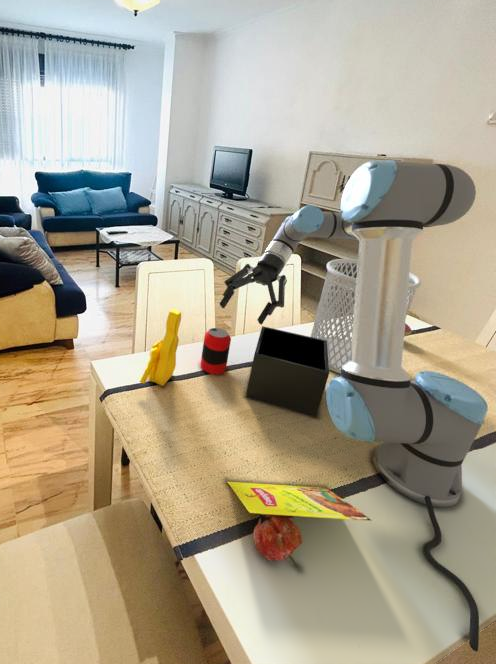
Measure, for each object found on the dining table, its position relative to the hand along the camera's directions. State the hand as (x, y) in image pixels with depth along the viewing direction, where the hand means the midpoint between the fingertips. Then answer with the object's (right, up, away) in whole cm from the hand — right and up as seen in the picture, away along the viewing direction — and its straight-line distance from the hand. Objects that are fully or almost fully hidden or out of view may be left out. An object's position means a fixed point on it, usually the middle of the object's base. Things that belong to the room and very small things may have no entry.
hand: (239, 314), depth 118 cm
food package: (+7, -31, -48) cm, 57 cm away
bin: (+9, -20, -10) cm, 24 cm away
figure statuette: (-25, -18, -9) cm, 32 cm away
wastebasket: (+37, -15, +8) cm, 41 cm away
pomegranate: (-8, -37, -52) cm, 65 cm away
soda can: (-9, -16, -2) cm, 18 cm away
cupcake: (+62, -11, +22) cm, 66 cm away
